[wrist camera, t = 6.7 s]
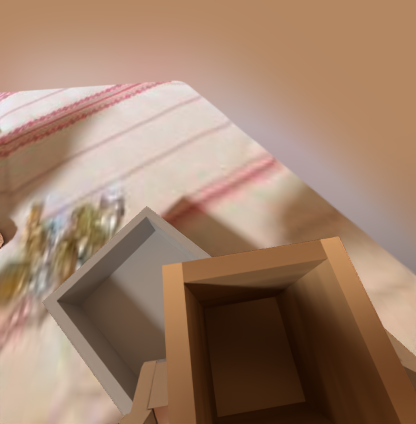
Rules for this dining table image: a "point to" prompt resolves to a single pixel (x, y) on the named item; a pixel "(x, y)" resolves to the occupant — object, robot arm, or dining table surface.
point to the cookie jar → (1, 240)
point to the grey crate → (122, 303)
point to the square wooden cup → (279, 341)
